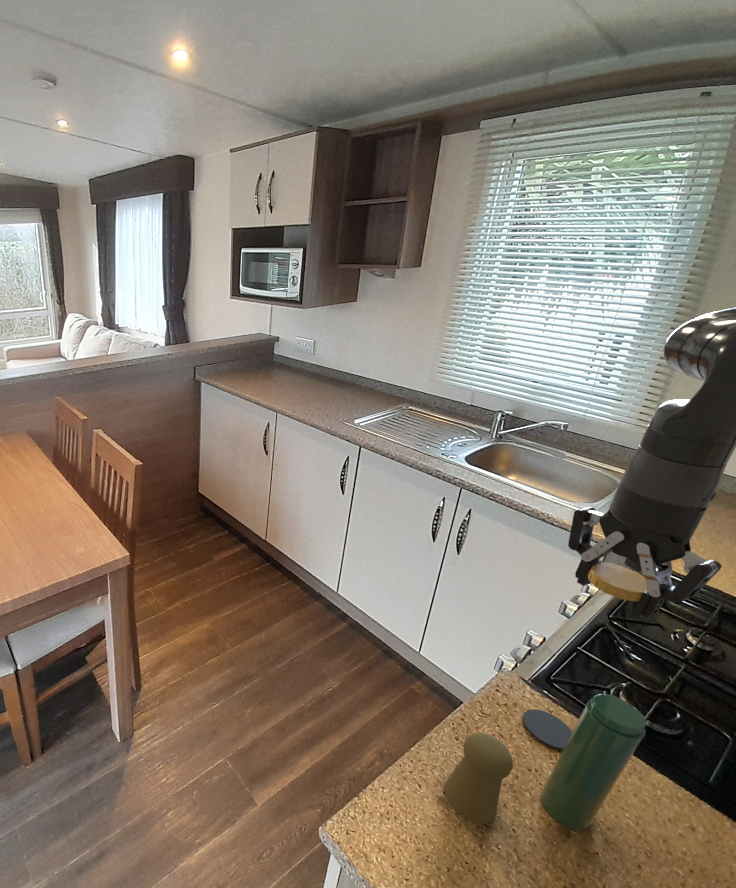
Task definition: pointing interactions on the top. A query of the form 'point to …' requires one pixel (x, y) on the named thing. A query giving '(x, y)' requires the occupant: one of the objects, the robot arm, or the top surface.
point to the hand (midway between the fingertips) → (611, 598)
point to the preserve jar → (592, 760)
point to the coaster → (546, 728)
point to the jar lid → (618, 581)
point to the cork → (479, 778)
